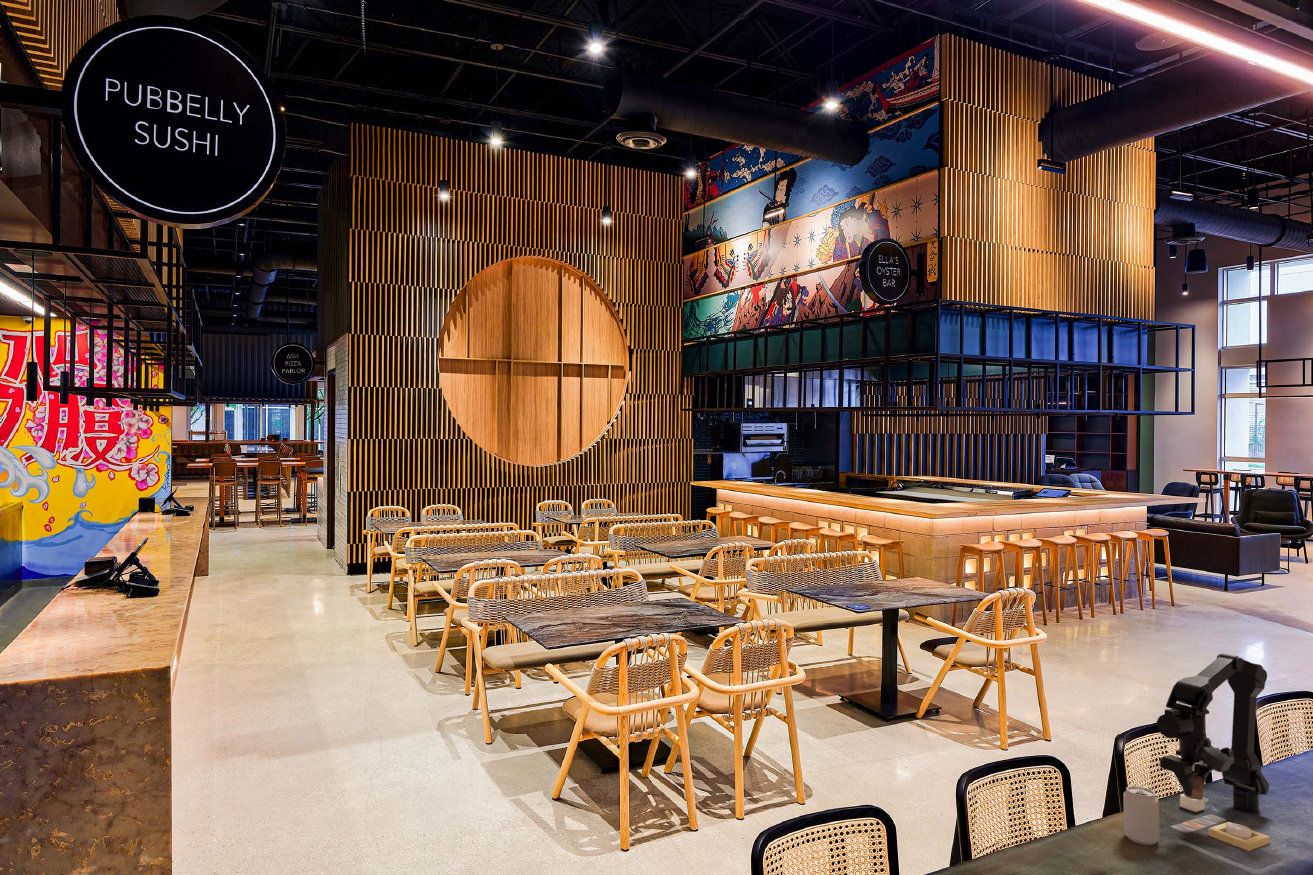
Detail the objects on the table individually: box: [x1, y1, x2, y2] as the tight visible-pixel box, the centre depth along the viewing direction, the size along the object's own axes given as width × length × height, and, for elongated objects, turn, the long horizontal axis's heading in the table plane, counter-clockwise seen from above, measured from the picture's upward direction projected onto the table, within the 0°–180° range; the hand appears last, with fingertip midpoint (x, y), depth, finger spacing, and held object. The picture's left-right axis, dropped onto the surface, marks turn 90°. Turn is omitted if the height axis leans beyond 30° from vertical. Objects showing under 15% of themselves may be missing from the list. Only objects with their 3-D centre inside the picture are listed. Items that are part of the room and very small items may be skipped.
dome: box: [1226, 822, 1252, 840], centre depth 196 cm, size 5×5×3 cm
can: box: [1122, 785, 1160, 846], centre depth 198 cm, size 8×8×12 cm
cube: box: [1179, 793, 1206, 813], centre depth 215 cm, size 4×4×4 cm
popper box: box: [1207, 821, 1270, 852], centre depth 196 cm, size 9×9×2 cm
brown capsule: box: [1183, 775, 1204, 800], centre depth 205 cm, size 4×4×5 cm
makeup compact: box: [1170, 813, 1227, 834], centre depth 205 cm, size 18×7×1 cm, turn 116°
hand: (1193, 794), depth 204 cm, fingers closed on brown capsule, 4 cm apart
